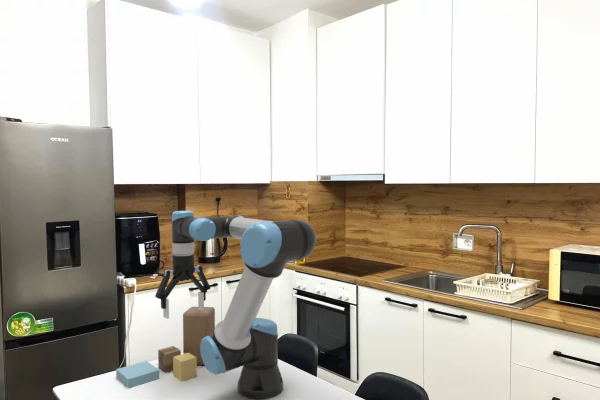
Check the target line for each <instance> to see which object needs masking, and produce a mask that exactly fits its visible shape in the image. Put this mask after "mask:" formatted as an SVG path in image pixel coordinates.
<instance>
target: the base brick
mask: <svg viewBox="0 0 600 400" xmlns="http://www.w3.org/2000/svg"><path fill="white" fill-rule="evenodd" d="M115 375H116V380H118V381H119V382H121V383H122V384H123V385H124V386H125V387H126V388H127V389H130V388H133V387H136V386H137V387H138V386H139V385H143V384H146V383H149V382H152V381H155V380H159V379H160V369H159V368H158V367H156V366H155V365H153V364H152V363H150V362H149V361H147V360H145V361H142V362H138V363H133V364H131V365H127V366H126V365H125V366H122V367H119V368H116V371H115Z"/></svg>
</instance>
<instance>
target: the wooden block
mask: <svg viewBox="0 0 600 400" xmlns="http://www.w3.org/2000/svg"><path fill="white" fill-rule="evenodd" d="M215 315H216V310H215V307H213V306H204V311H201V310H199V309H198V306H191V307H189V308H188V309H187V310H185V312H183V315H182V336H183V338H182V345H183V348H182V349H183V350H182V351H183V354H185V353H190V354H192V355H193V356H195V357H197V365H199V366H205V365H204V363H203V360H202V357H201V352H200V344H201V341H202V339H203V338H204V337H206V336H211V335H212V334H213V332H214V329H215V327H216V316H215Z"/></svg>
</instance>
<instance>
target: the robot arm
mask: <svg viewBox="0 0 600 400" xmlns="http://www.w3.org/2000/svg"><path fill="white" fill-rule="evenodd" d="M170 223H171V234H172V235H171V238H172V239H171V241H172V244H171V246H172V248H171V249H172V250H171V251H172V254H173V255H172V269H170V270H169V269H164V270H163V276H162V278H161V281H160V283H159V286H158V288H157V290H156V293H155V295H154V298H155V299H156V298H157V299H159V300H160V308H161V309H163V310H162V311H163V312H162V313H163V318H165V319H170V300H169V299H168V297H169V295H171V293H172V291H173V290H174V288H175V287H176V285H177V284H179V282H185V281H191V282H192V283H193V284H194V285H195V287H197V288H198V290H199V291H198V292H197V298H198V300H197V301H198V302H197V307H198V309H199V310H201V311H204V307H205V301H206V299H207V297H206V296H207V295H206V294H207V293H208V290H211V286H210V284H209V281H208V280H207V278H206V276H205V275H206V274H205V273H204V271H203V270H204V269H203V266H202V265H199V264H197V265H196V266H195V241H198V242H202V241H203V242H205V241H210V240H212V239H213V240H214V239H222V238H223V239H224V238H231V239H237V240H240V242H239V243H240V244H239V246H240V247H241V248H240V250H239V252H240V256H241V258H242V263H243V265H244V269H243V270H242V271H243V272H242V274H241V276H240V279H239V282H238V284H237V285H236V286H237V287H236V289H235V292H234V294H233V296H232V299H231V301H230V303H229V306H228V309H227V311H226V314H225V316H224V318H223V320H221V321H219V322H218V323H217V324H215V329H214V332H213V334H212V335H211V336H206V337H204V338H203V339H202V341H201V344H200V352H201V357H202V360H203V363H204V365H203V366H204V367H205V368H206V369H207V371H208V372H209V373H210V374H212V375H214V376H215V375H221V374H225V373H227V372H229V371H232V370H236V369H238V368H241V367H242V368H241V370H240V375H239V379H238V381H237V392H238V394H240V395H241V396H242V397H244V398H247V399H254V400H262V399H269V398H273V397H276V396H277V395H279V394H281V393H282V391H283V390H284V381H283V377H282V373H281V371H280V368H279V365H278V361H279V360H278V358H279V357H278V355H279V353H278V352H279V351H278V347H279V345H278V343H279V342H278V341H279V333H278V325H277V323H276V322H275V320H274V321H273V320H271V319H268V318H263V317H257V315H258V314H259V311H260V309H261V306H262V304H263V302H264V300H265V298H266V296H267V294H268V292H269V289H270V286H271V284H272V282H273V280H274V279H277V278H279V277H280V276H281V275H282V273H283V271H284V269H285V267H286V264H287V263H290V262H297V261H301V260H304V259H305V258H308V257H309V256H310V255H311V254H312V253H313V251H314V249H315V247H316V245H317V236H316V235H317V234H316V232H315V229H314V228H313V227H312V225H310V224H309V223H308V222H307V221H305V220H300V219H290V220H288V219H287V220H279V221H272V220H266V219H265V220H264V219H256V218H249V217H244V216H243V215H233V214H232V215H226V216H224V215H222V216H207V217H195V214H194V212H193V211H192V210H175V211H173V212H172V215H171V222H170ZM195 272H196V274H197V276H198V278H199V280H200V281H199V280H198V278H197V277H196V276H195V275H194V273H195ZM172 275H173V276H172ZM171 276H172V278H171ZM170 278H171V279H170ZM169 281H170V282H169Z"/></svg>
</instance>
